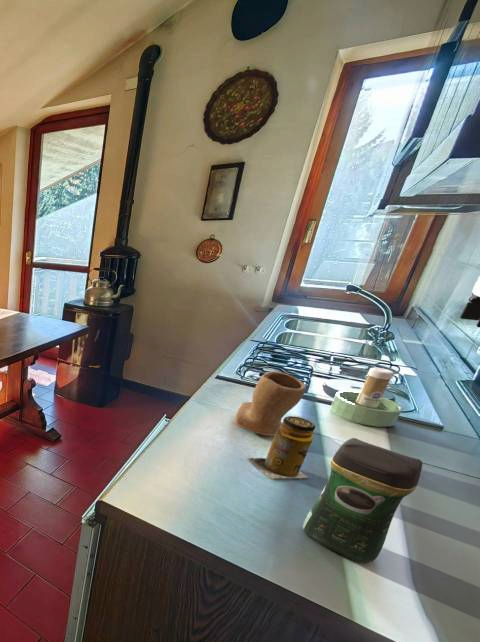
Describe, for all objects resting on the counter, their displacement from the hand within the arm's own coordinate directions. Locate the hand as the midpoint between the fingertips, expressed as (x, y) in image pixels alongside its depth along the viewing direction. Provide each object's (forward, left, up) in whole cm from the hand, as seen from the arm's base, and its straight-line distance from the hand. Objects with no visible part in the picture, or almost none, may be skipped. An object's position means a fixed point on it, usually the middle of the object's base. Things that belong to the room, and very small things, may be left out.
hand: (477, 323), depth 92 cm
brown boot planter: (+35, +24, -28) cm, 51 cm away
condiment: (+32, +45, -28) cm, 62 cm away
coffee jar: (+24, +65, -28) cm, 75 cm away
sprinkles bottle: (+12, +1, -28) cm, 30 cm away
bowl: (+12, +1, -28) cm, 31 cm away
